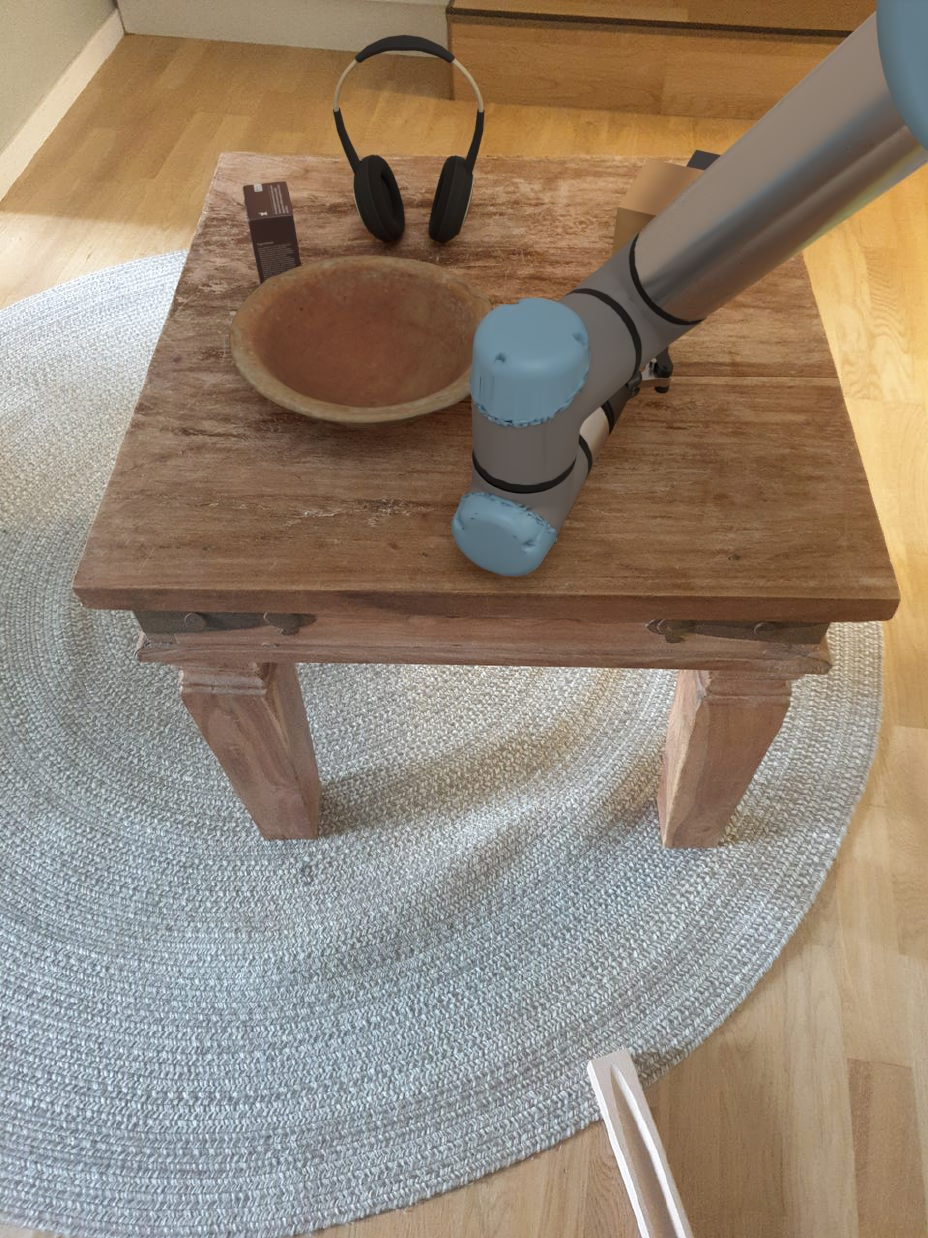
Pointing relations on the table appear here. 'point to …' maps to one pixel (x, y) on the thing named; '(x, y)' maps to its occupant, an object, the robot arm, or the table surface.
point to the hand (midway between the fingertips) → (659, 256)
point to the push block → (649, 197)
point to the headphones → (377, 180)
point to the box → (271, 228)
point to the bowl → (360, 339)
